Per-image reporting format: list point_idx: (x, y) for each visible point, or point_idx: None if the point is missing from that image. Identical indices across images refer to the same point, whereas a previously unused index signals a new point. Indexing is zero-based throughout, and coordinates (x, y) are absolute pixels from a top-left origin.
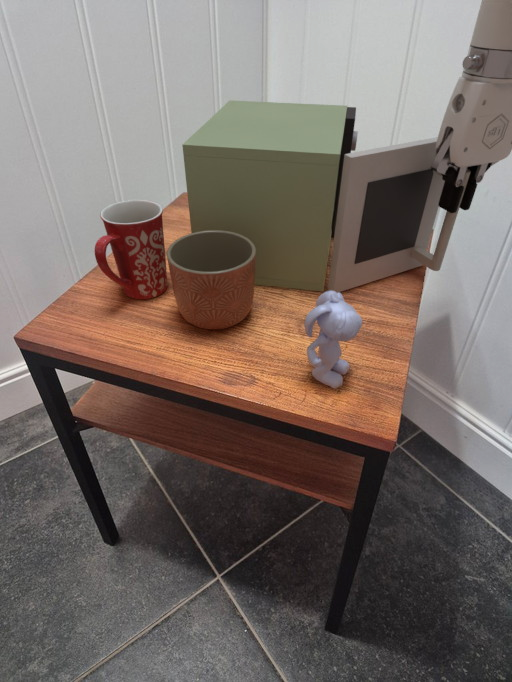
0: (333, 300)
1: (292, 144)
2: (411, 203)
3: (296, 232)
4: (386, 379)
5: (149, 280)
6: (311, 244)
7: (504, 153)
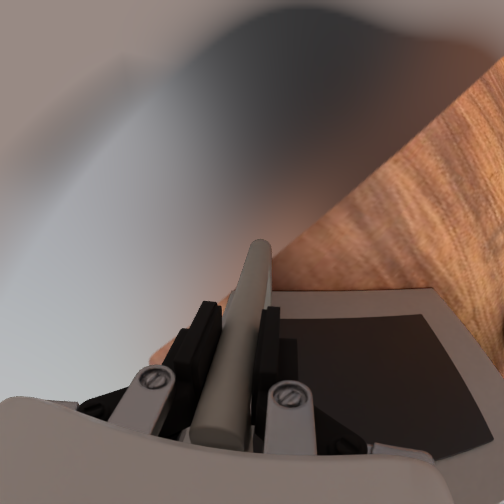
0: None
1: None
2: (318, 401)
3: None
4: (485, 97)
5: None
6: None
7: (28, 424)
